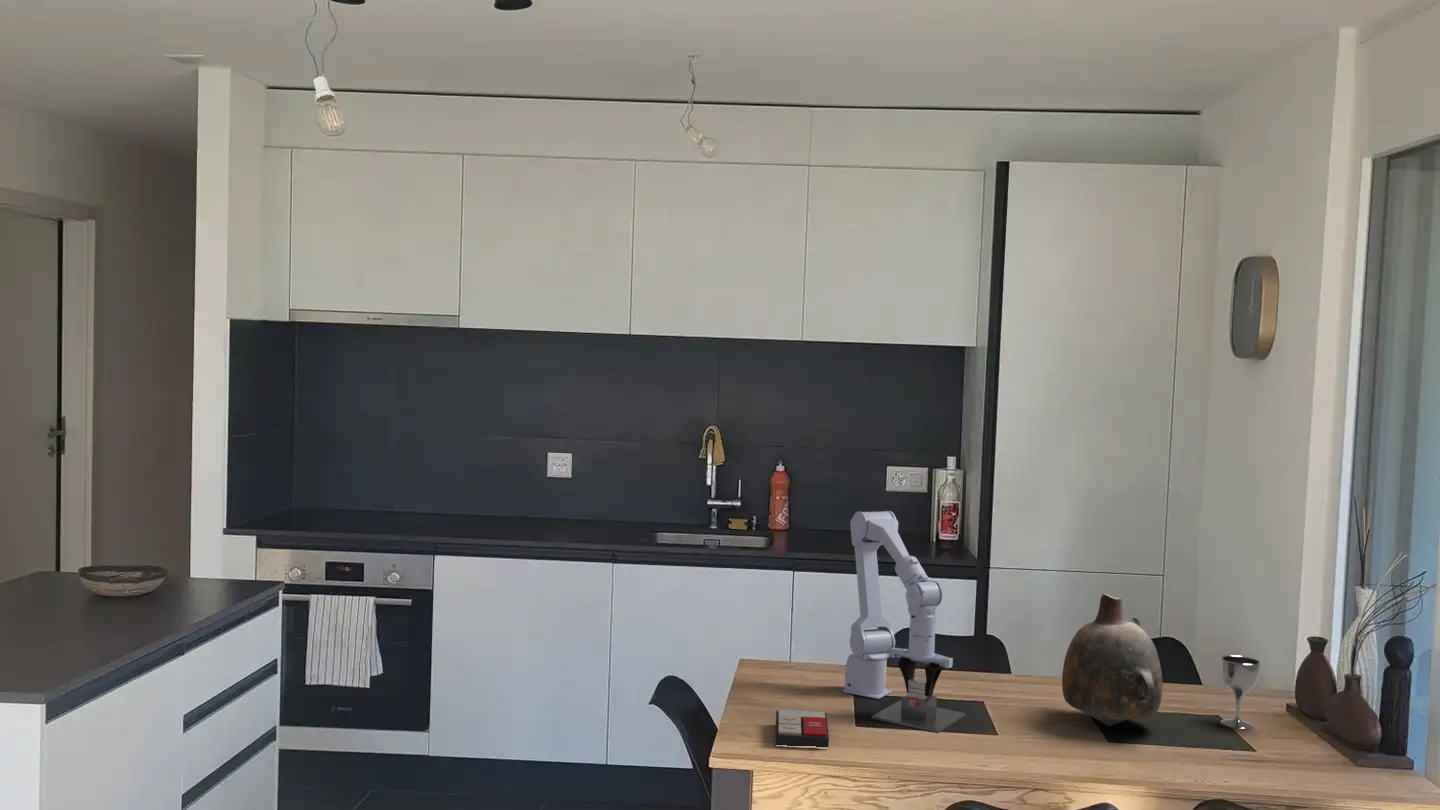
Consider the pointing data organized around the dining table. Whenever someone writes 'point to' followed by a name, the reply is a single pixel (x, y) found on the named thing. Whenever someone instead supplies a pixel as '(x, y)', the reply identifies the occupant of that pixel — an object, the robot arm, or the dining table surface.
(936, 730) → the stand
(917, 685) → the column
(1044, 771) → the dining table surface
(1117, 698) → the jug
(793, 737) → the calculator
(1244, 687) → the silver goblet
